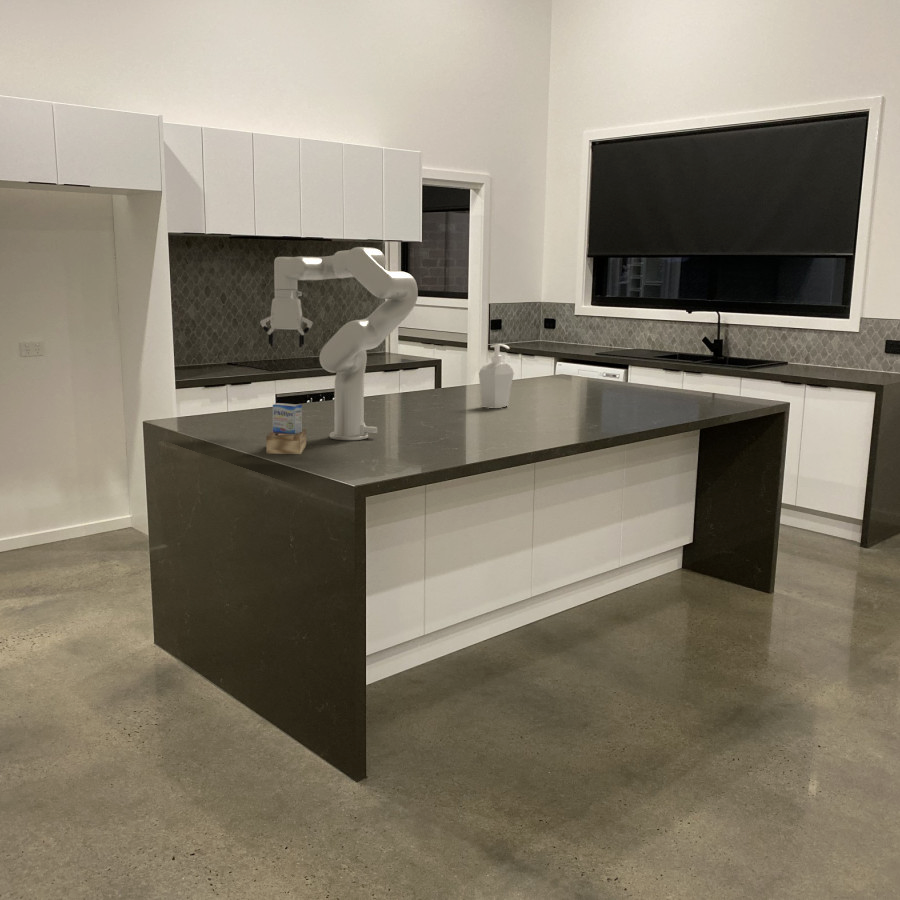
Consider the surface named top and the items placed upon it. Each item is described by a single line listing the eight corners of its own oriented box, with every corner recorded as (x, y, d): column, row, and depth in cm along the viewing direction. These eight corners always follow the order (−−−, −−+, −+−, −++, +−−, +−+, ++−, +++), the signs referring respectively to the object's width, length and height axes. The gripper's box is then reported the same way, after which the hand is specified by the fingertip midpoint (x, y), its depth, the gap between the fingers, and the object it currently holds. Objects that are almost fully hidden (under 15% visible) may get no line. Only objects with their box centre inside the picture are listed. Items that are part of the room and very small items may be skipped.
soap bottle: (497, 410, 363) (499, 345, 357) (477, 407, 369) (479, 344, 364) (515, 407, 372) (518, 344, 367) (496, 404, 378) (498, 342, 373)
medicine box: (272, 432, 275) (271, 404, 273) (279, 430, 279) (279, 402, 277) (295, 434, 272) (294, 406, 271) (302, 432, 276) (302, 404, 275)
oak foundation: (306, 445, 283) (306, 429, 282) (300, 454, 270) (300, 437, 269) (273, 445, 283) (273, 428, 282) (266, 453, 270) (266, 436, 269)
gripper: (313, 295, 304) (313, 346, 308) (262, 293, 304) (262, 345, 307) (310, 295, 297) (311, 348, 301) (257, 294, 297) (258, 347, 300)
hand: (286, 346), depth 304 cm, fingers open, 9 cm apart
